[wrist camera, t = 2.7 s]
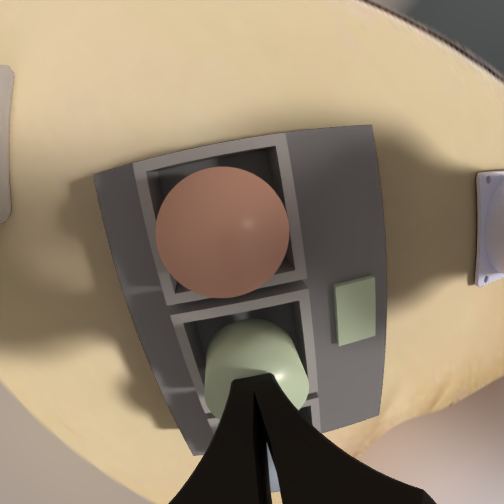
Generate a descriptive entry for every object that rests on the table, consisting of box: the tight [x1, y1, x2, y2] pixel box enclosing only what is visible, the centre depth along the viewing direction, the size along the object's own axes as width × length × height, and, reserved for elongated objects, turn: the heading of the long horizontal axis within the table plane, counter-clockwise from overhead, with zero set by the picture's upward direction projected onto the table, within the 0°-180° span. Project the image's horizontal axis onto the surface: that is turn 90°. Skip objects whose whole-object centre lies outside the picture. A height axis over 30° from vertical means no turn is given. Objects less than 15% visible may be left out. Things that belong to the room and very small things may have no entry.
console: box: [93, 125, 387, 456], centre depth 14 cm, size 12×17×4 cm
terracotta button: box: [155, 167, 289, 298], centre depth 9 cm, size 4×4×2 cm
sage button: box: [204, 318, 309, 420], centre depth 11 cm, size 4×4×2 cm
